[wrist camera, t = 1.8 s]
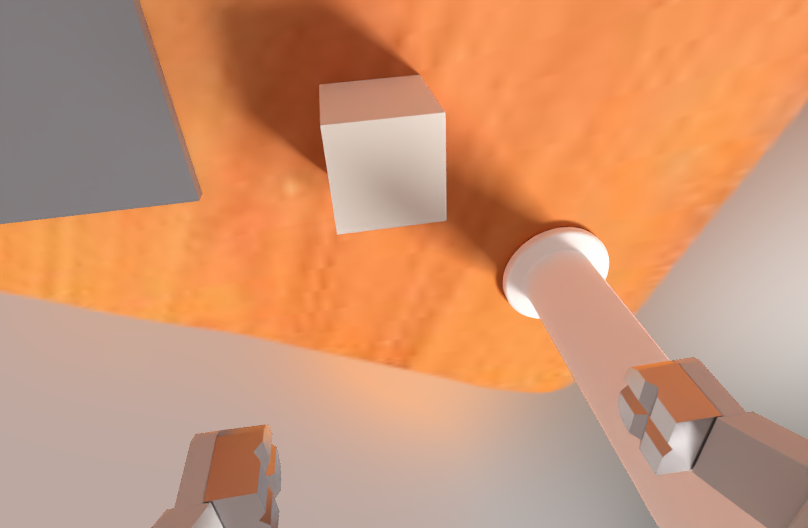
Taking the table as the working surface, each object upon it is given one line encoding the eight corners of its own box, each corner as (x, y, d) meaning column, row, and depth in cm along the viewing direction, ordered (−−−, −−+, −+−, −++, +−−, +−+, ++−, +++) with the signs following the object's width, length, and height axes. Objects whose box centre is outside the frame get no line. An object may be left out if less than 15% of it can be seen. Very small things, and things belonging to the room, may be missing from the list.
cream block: (319, 84, 24) (320, 125, 19) (419, 74, 25) (445, 112, 20) (333, 177, 27) (337, 234, 22) (423, 167, 28) (446, 220, 23)
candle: (490, 311, 34) (744, 880, 14) (519, 222, 30) (928, 829, 10) (582, 313, 36) (934, 832, 15) (621, 229, 32) (1158, 771, 12)
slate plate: (-173, -28, 19) (-190, -26, 18) (122, -50, 20) (116, -49, 19) (-17, 219, 25) (-26, 227, 25) (202, 193, 26) (199, 200, 26)
